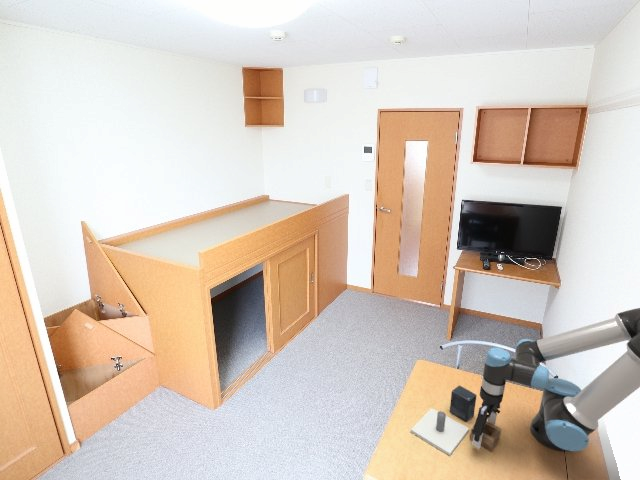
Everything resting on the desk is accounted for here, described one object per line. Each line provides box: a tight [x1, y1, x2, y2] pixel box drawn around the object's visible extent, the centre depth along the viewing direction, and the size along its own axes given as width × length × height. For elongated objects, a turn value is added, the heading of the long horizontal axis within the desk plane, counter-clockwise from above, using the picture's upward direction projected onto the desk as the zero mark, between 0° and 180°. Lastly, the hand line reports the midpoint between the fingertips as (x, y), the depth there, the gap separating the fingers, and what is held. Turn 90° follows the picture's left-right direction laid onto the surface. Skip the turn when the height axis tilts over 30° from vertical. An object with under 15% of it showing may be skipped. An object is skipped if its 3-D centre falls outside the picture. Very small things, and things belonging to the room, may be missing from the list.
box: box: [449, 385, 478, 423], centre depth 156 cm, size 8×6×11 cm
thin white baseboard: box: [410, 407, 470, 457], centre depth 148 cm, size 16×16×8 cm
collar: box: [469, 421, 502, 453], centre depth 144 cm, size 8×8×5 cm
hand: (483, 435), depth 145 cm, fingers open, 13 cm apart
